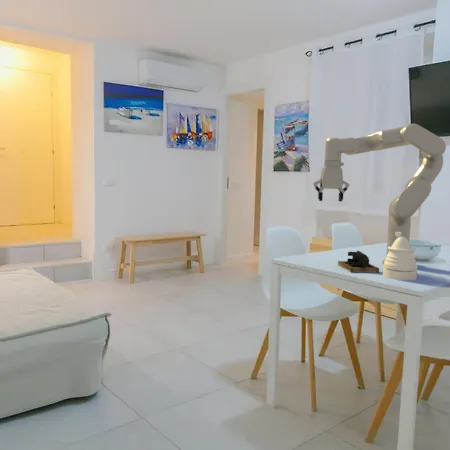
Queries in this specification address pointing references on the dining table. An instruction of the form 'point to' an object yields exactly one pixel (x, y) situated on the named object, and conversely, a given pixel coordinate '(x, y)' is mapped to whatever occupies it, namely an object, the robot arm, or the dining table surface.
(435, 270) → the dining table surface
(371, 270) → the pocket tray
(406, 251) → the honey pot
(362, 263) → the end cap
